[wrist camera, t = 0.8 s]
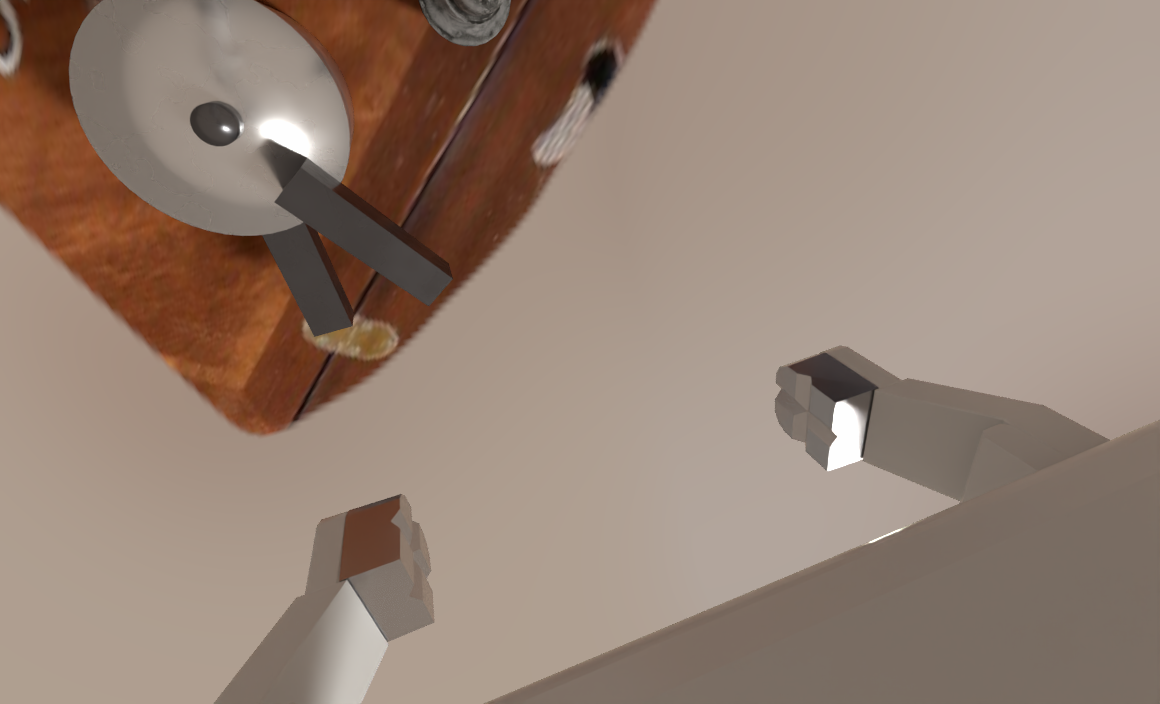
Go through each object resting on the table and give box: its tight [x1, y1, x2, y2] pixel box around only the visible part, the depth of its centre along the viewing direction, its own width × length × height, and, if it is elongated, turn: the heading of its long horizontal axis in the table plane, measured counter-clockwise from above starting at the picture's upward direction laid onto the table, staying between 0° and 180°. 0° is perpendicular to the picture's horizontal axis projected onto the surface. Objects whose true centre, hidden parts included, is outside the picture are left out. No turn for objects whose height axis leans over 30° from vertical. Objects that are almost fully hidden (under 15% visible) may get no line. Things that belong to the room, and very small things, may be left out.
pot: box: [262, 5, 354, 337], centre depth 33 cm, size 23×12×8 cm, turn 9°
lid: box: [69, 0, 453, 306], centre depth 29 cm, size 20×12×4 cm, turn 44°
